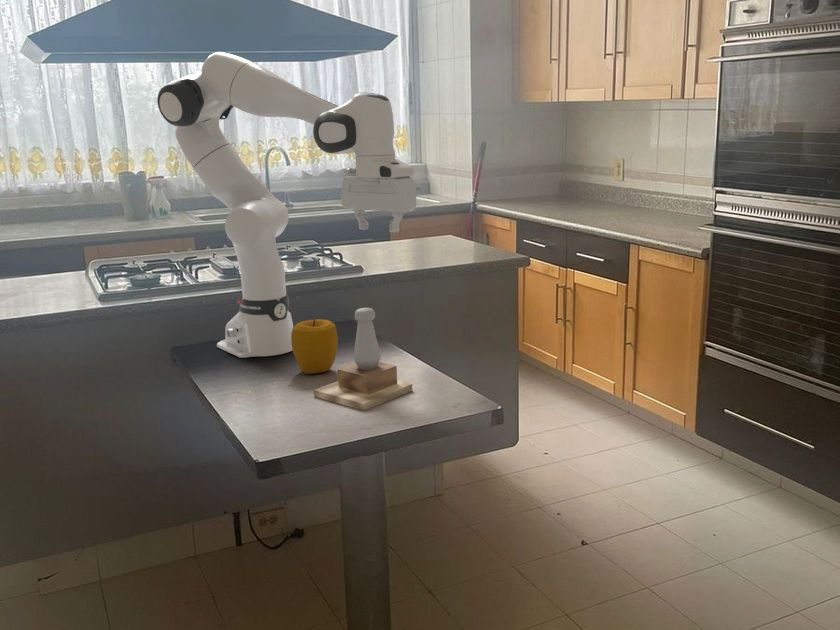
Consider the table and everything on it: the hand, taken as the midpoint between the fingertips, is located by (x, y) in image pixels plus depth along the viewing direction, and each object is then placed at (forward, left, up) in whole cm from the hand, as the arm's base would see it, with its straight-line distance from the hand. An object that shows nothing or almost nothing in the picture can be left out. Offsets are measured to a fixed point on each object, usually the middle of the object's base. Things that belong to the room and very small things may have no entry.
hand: (378, 230), depth 182 cm
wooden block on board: (+7, -14, -33) cm, 37 cm away
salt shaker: (+7, -13, -28) cm, 31 cm away
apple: (-13, -10, -33) cm, 37 cm away
